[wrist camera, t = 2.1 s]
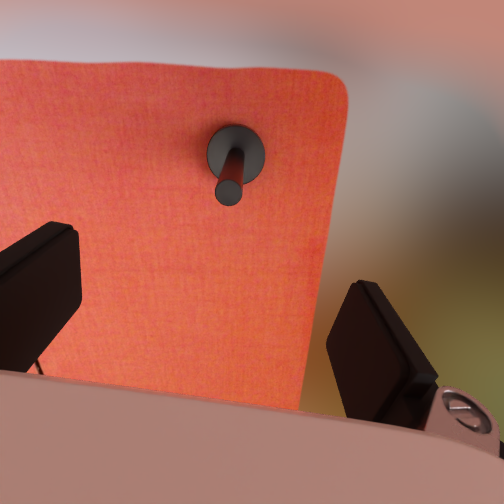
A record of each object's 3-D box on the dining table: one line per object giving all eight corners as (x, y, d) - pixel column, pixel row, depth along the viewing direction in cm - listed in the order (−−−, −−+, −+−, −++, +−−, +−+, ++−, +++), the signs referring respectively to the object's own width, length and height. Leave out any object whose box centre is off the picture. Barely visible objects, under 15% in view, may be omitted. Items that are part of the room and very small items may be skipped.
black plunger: (196, 156, 32) (164, 196, 20) (233, 110, 30) (222, 122, 18) (239, 192, 34) (233, 250, 22) (276, 152, 32) (293, 189, 20)
